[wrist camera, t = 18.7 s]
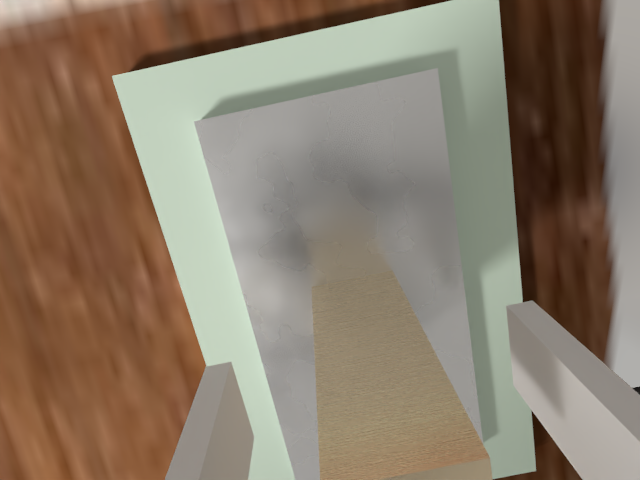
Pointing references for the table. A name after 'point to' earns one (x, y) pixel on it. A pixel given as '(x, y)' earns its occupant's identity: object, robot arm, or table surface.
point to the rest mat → (320, 77)
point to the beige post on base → (354, 278)
